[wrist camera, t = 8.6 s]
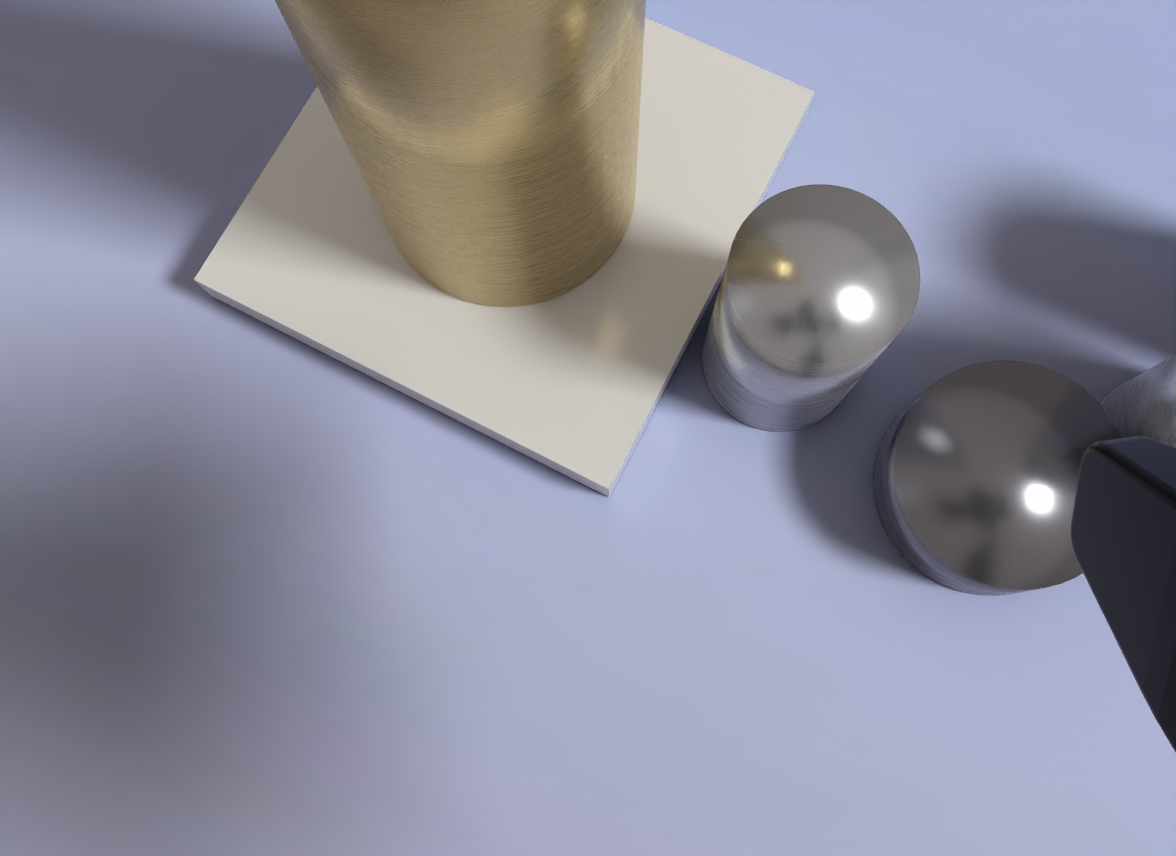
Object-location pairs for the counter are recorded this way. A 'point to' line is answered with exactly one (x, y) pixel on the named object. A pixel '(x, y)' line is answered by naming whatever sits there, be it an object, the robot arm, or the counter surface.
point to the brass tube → (487, 131)
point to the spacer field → (933, 421)
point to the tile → (532, 332)
